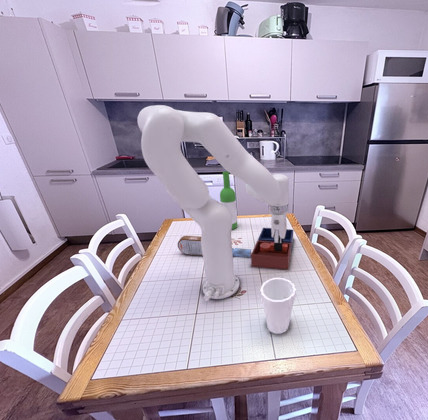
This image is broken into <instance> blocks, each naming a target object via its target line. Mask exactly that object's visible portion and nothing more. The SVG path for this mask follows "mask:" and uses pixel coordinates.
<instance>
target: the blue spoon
mask: <svg viewBox="0 0 428 420" xmlns="http://www.w3.org/2000/svg"><path fill="white" fill-rule="evenodd" d="M232 253H233V257H242V258H251V254H252V249H250V248H239V247H235V248H233V247H232Z"/></svg>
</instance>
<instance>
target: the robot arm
mask: <svg viewBox="0 0 428 420" xmlns="http://www.w3.org/2000/svg"><path fill="white" fill-rule="evenodd" d="M137 126H138V128H139V130H140V132H141V138H140V146H141V148H140V149H141V154H142V157H143V160H144V162H145V164H146V166H147V167H148V168H149V169H150V171H151V172H152V173H153V174H154V176H155V177H156V178H157V179H158V180H159V181H160V183H161V184H162V185H163V186H164V187H165V191H166V193H167V194H168V196H169V197H170V198H171V199H172V200H173V201H174V202H175V203H176V204H177V205H178V206H179V207H180V209H182V210H183V211H184V213H186V215H188V217H189V218H191V220H192V221H194V223H196V224H197V226H199V228H200V230H201V236H200V237H201V247H202V254H203V256H202V261H203V267H204V274H205V281H203V284H202V292H203V294H204V295H203V298H202V299H203V301H205V302H209V301H210V300H211V299H213V300H222V299H227V298H229V297H231V296H233V295H234V294H235V293H237V291H238V290H239V288H240V279H239V277H238V276H237V275H235V267H234V256H233V253H232V248H233V245H232V244H233V243H232V230H233V229H232V215H231V213H230V211H229V210H228V209H227V208H226V207H225V206H224V205H223V204H221V202H220V201H218V200H216V199H214V197H212V196H211V195H210V189H209V188H208V185H207V184H206V182H205V181H204V179H203V178H201V176H200V175H199V174H198V172H197V171H196V170H195V169H194V168H193V167H192V165H191V164H190V163H189V162H188V160H187V158H186V157H185V156H184V154H183V152H182V149H181V142H184V143H198V144H201V145H202V147H203V148H204V149H205V150H206V151H207V152H208V153H209V154H210V155H211V156H212V157H213V158H214V159H215V160H216V161H217V162H218V163H219V164H220V166H221V167H222V168H223V169H225V171H228V172H229V174H231V175H232V176H233V177H235V178H237V179H239V180H240V181H242V182H244V183H245V185H244V189H245V192H246V194H247V195H248V196H249V197H251V198H253V199H255V200H258V201H259V202H261V203H264V204H266V205H267V206H268V213H269V214H271V215H270V221H271V222H270V226H271V227H270V228H271V233H272V238H274V251H282V244H283V239H284V238H285V234H286V229H287V227H288V226H287V225H288V223H287V222H288V221H287V213H289V185H290V184H289V183H290V182H289V177H288V176H287V175H286V174H283V173H274V174H272V173H271V172H270V171H269V169H267V167H266V166H264V165H263V164H262V163H261V162H260V161H258V160H257V159H256V158H255V157H254V156H253V155H252V154H251V153H249V152H248V151H247V150H246V148H245V147H244V146H243V145H242V143H241V142H240V141H239V140H238V138H237V137H236V136H235V135H234V133H233V132H232V131H231V130H230V128H228V126H227V124H226V123H225V122H224V121H223V120H222V118H220V117H219V116H218V115H216V114H215V113H212V112H205V111H204V112H203V111H202V112H201V111H199V112H198V111H187V110H179V109H175V108H173V107H171V106H168V105H164V104H156V105H148V106H146V107H144V108H142V109H141V110H140V111H139V113H138V114H137ZM282 238H283V239H282Z"/></svg>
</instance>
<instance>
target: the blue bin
mask: <svg viewBox="0 0 428 420" xmlns="http://www.w3.org/2000/svg"><path fill="white" fill-rule="evenodd" d="M282 239H283V238H282ZM257 241H269V242H274V238H272V233H271V227H262V229H261V231H260V233H259V235H258V238H257ZM293 242H294V229H290V228H289V229H286V234H285V238H284V239H283V243H291V251H293V250H292V249H293V244H294V243H293Z"/></svg>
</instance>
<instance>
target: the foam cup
mask: <svg viewBox="0 0 428 420" xmlns="http://www.w3.org/2000/svg"><path fill="white" fill-rule="evenodd" d="M296 292H297V291H296V286H295V284H294V283H293V282H292V281H291V280H289V279H287V278H285V277H272V278H270V279H267V280H266V281H264V282H263V283H262V284H261V287H260V300H261V302H262V306H263V311H264V316H265V321H266V327H267V329H268V330H269V332H271V333H273V334H275V335H281V334H283V333H285V332H286V331H287V330H288V329H289V325H290V321H291V316H292V311H293V306H294V303H295V300H296V295H297V294H296Z"/></svg>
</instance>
